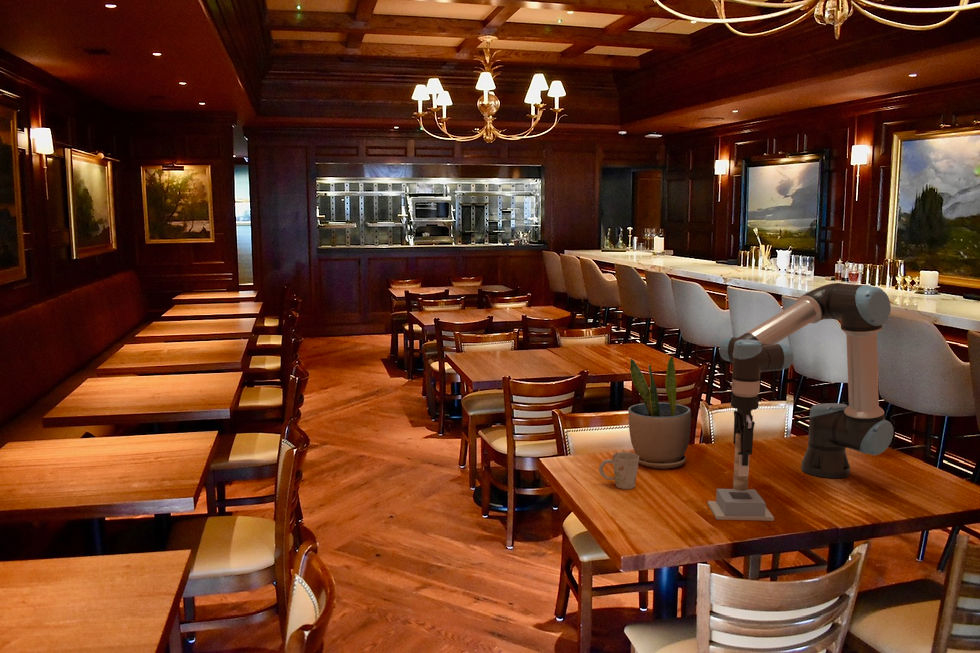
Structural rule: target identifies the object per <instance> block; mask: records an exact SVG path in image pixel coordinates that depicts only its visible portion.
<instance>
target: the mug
mask: <svg viewBox="0 0 980 653" xmlns="http://www.w3.org/2000/svg"><path fill="white" fill-rule="evenodd" d="M606 464H612V465H613V472H614V473H613V474H614V476H607V475H606V474H605V471H604V467H605V466H606ZM638 469H639V456H638V455H637V454H636V453H634V452H630V451H629V452H627V451H619V452H615V453H613V454H612V458H611V459H609V458H607V459H604V460H603V461H602V462H600V464H599V466H598V472H599V474H600V476H601V477H603V478H604V479H605V480H610V481H614V482H615V487H616V488H618V489H620V490H621V489H623V490H632V489H634V488H635V487H636V480H637V473H638Z"/></svg>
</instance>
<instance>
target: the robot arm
mask: <svg viewBox="0 0 980 653" xmlns="http://www.w3.org/2000/svg"><path fill="white" fill-rule="evenodd" d="M891 306H892V305H891V301H890V298H889V296H888V293H886V292H885V291H884V290H883V289H882V288H881V287H878V286H872V285H869V284H857V283H855V284H852V283H841V282H835V283H834V282H833V283H828V284H825V285H821V286H819V287H817V288H814V289H812V290H810V291H807V292H806V293H804V294H802V295H801V296H800V297H798V298H797V299H796V302H795V303H794V304H792V305H791V306H789V307H787V308H785V309H784V310H782V311H781V312H778V313H776V314H775V315H773V316H772V317H770V318H769V319H767V320H765V321H764V322H762V323H760V324H759V325H757V326H755V327H753V328H751V329H750V330H749V331H747V332H745V333H743V334H742V335H739V336H738V337H735V336H727V337H725V338H723V339H722V340H721V341H720V344H719V346H718V347H719V348H718V352H719V355H720V358H721V359H722V360H724V361H726V362H729V363H731V364H732V376H731V377H732V378H731V381H732V382H730V384H729V386H730V387H731V393H732V394H731V396H730V406H731V407H732V408H733V409H736V410H734V411H733V417H734V419H733V441H732V442H733V443H732V444H733V445H735V438H736V434H737V433H740V447H741V452H738V455H739V469H738V476H748V477H749V470H750V455H752V454H753V444H754V428H755V425H756V424H755V421H754V419H753V417H754V416H753V415H752V411H753V410H754V411H755V410H758V409H759V403H760V402H759V401H760V397H759V394H760V390H761V389H760V388H761V387H760V386H761V373H765V372H766V373H767V372H775V371H778V372H779V371H782V370H787V369H788V368H790V367H791V366H792V365H793V362H794V353H793V351H792V350H793V349H792V348H790V346H788V345H787V344H784V343H779V342H781V341H783V340H784V339H786V338H787V337H789V336H790V335H793V334H794V333H796V332H798V331H799V330H801V329H802V328H804V327H805V326H808V325H809V324H816V323H818V322H820V321H822V320H836V321H840V330H841V331H842V332H843V333H845V335H846V357H847V360H846V362H847V388H848V389H847V390H848V405H847V404H845V403H837V402H836V403H835V402H834V403H833V402H832V403H831V402H830V403H818V404H814V405H812V406H811V407H810V410H809V412H810V413H809V416H808V419H809V420H808V422H809V423H808V443H807V444H808V445H807V449H806V451H805V453H804V456H803V458H802V461H801V470H802V471H803V472H804V473H805V474H808V475H811V476H814V477H820V478H826V479H842V478H846V477H849V476H850V474H851V467H850V462H849V458H848V455H847V452H846V451H847V450H846V449H850V450H853V451H857V452H860V453H862V454H867V455H871V456H877V455H880V454H882V453H883V452H885V451H886V450H887V449H888V448H889V446H890V444H891V442H892V439H893V437H894V427H893V424H892V423H891V422H890V421H889V420H887V419H885V411H884V408H882V407H881V406H879V405H880V403H879V402H880V401H879V397H880V396H879V369H878V366H879V365H878V364H879V363H878V333H879V332H880V331H881V330H882V329H883V325H884V324H885V323H887V321H888V320H889V316H890V314H891Z"/></svg>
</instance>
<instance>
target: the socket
mask: <svg viewBox="0 0 980 653" xmlns="http://www.w3.org/2000/svg"><path fill="white" fill-rule="evenodd" d="M766 505H767V504H766V501H765V500H764V499H763V498H762V496H761V495H760V494H759V493H758V492H757V490H756V489H754V488H753V489H751V488H749V489H747V490H746V491H739V490H735V489H733V488H716V497H715V500H707V506H708V507H709V509H710V511H711V513H712V514H713V516H714V517H715V520H722V521H724V520H727V521H730V520H731V521H765V522H767V521H769V522H770V521H773V522H774V521H775V516H773V514H772V512H770V510H769V509H768V508H767V506H766Z"/></svg>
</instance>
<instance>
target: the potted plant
mask: <svg viewBox="0 0 980 653" xmlns="http://www.w3.org/2000/svg"><path fill="white" fill-rule="evenodd" d="M629 360H630V361H629V363H630V366H629V367H630V376H631V381H632V384H633V386H634V387H635V389H636V390H637V392H638V393H639V395H640V397H641V399H642V401H643V402H644V403H637V404H634V405H631V406H629V407H628V408H627V411H628V430H629V438H630V442H631V445H632V448H633V451H634V452H635V454H637V455H638V456H639V463H638V465H641V466H643V467H647V468H651V469H660V470H661V469H662V470H663V469H664V470H666V469H676V468H679V467H682V465H684V464H685V463H686V462H687V456H686V455H685V454H686V451H687V449H688V447H689V443H690V436H691V424H692V422H691V420H692V419H691V418H692V416H691V415H692V414H691V413H692V411H691V408H690V407H688V406H686V405H682V404H678V403H677V377H676V368H675V362H674V360H675V359H674V354H672V355H671V356H670V358H669V359H668V362H667V366H666V373H665V383H664V384H665V385H664V386H665V387H664V388H665V391H666V395H667V398H668V402H661V401H660V402H659V395H658V389H657V385H656V382H655V378H654V375H653V371H652V369H653V368H652V366H651V365H650V363H649V364H648V374H649V380H650V385H648V383H647V380H646V378H645V376H644V374H643V372H642V371H641V369H640V367H639V365H638V363H636V361H635V360H634V359H632V358H630V359H629Z"/></svg>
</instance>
